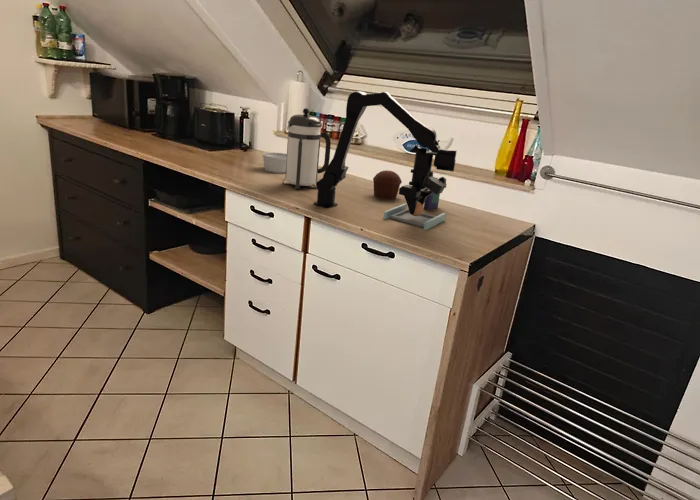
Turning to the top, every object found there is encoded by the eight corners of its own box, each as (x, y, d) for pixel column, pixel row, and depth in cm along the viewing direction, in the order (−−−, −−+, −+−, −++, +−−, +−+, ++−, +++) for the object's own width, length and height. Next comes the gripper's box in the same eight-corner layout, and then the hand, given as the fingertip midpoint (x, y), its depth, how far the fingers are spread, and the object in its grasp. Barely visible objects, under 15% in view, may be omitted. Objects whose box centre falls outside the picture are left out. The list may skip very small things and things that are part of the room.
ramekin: (295, 169, 225) (296, 154, 222) (288, 175, 212) (289, 159, 210) (266, 166, 226) (267, 151, 223) (258, 171, 213) (259, 155, 211)
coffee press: (316, 193, 188) (323, 112, 177) (276, 187, 190) (280, 107, 180) (327, 184, 204) (334, 109, 194) (290, 178, 206) (295, 104, 196)
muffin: (390, 202, 187) (394, 176, 184) (365, 195, 192) (368, 170, 189) (404, 197, 197) (407, 172, 193) (380, 191, 202) (383, 167, 198)
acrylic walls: (425, 230, 158) (427, 222, 157) (383, 218, 165) (384, 211, 164) (444, 220, 171) (445, 213, 170) (404, 210, 178) (405, 203, 177)
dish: (423, 227, 160) (423, 224, 160) (390, 218, 166) (391, 215, 166) (437, 220, 170) (437, 216, 170) (406, 212, 176) (406, 209, 175)
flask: (433, 205, 189) (437, 178, 185) (440, 207, 187) (444, 179, 183) (421, 209, 182) (426, 181, 178) (428, 211, 180) (433, 182, 176)
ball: (418, 219, 164) (420, 204, 163) (405, 215, 167) (407, 201, 165) (424, 216, 168) (426, 202, 167) (411, 212, 171) (413, 198, 169)
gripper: (433, 175, 150) (425, 224, 156) (455, 168, 166) (447, 213, 171) (401, 168, 156) (394, 215, 161) (425, 162, 171) (418, 206, 176)
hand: (415, 212), depth 167 cm, fingers open, 5 cm apart
